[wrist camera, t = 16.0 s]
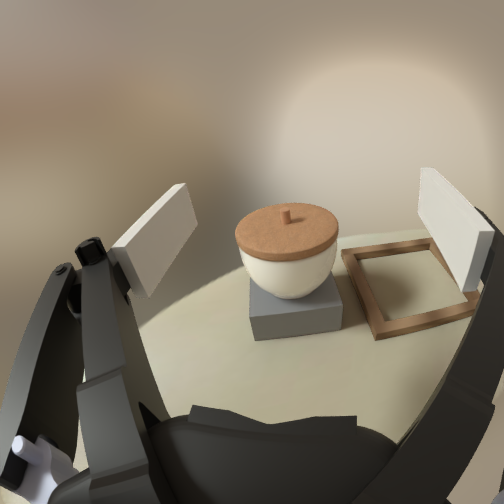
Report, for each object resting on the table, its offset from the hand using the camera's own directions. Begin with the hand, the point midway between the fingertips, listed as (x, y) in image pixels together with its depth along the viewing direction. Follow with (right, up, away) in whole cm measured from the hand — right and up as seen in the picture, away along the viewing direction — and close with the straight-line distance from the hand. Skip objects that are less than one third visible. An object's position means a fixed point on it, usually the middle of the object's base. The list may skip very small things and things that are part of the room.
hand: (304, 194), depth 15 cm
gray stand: (+3, -10, +21) cm, 23 cm away
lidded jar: (+2, -7, +19) cm, 20 cm away
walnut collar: (+19, -7, +20) cm, 29 cm away
